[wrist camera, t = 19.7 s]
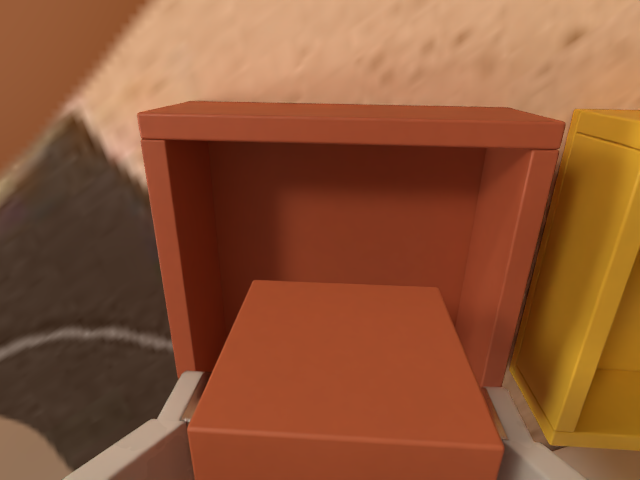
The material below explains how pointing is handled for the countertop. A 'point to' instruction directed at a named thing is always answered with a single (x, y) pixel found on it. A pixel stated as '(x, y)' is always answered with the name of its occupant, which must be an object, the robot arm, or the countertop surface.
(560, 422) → the yellow bin
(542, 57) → the countertop surface
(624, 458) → the can
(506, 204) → the terracotta bin
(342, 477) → the block
